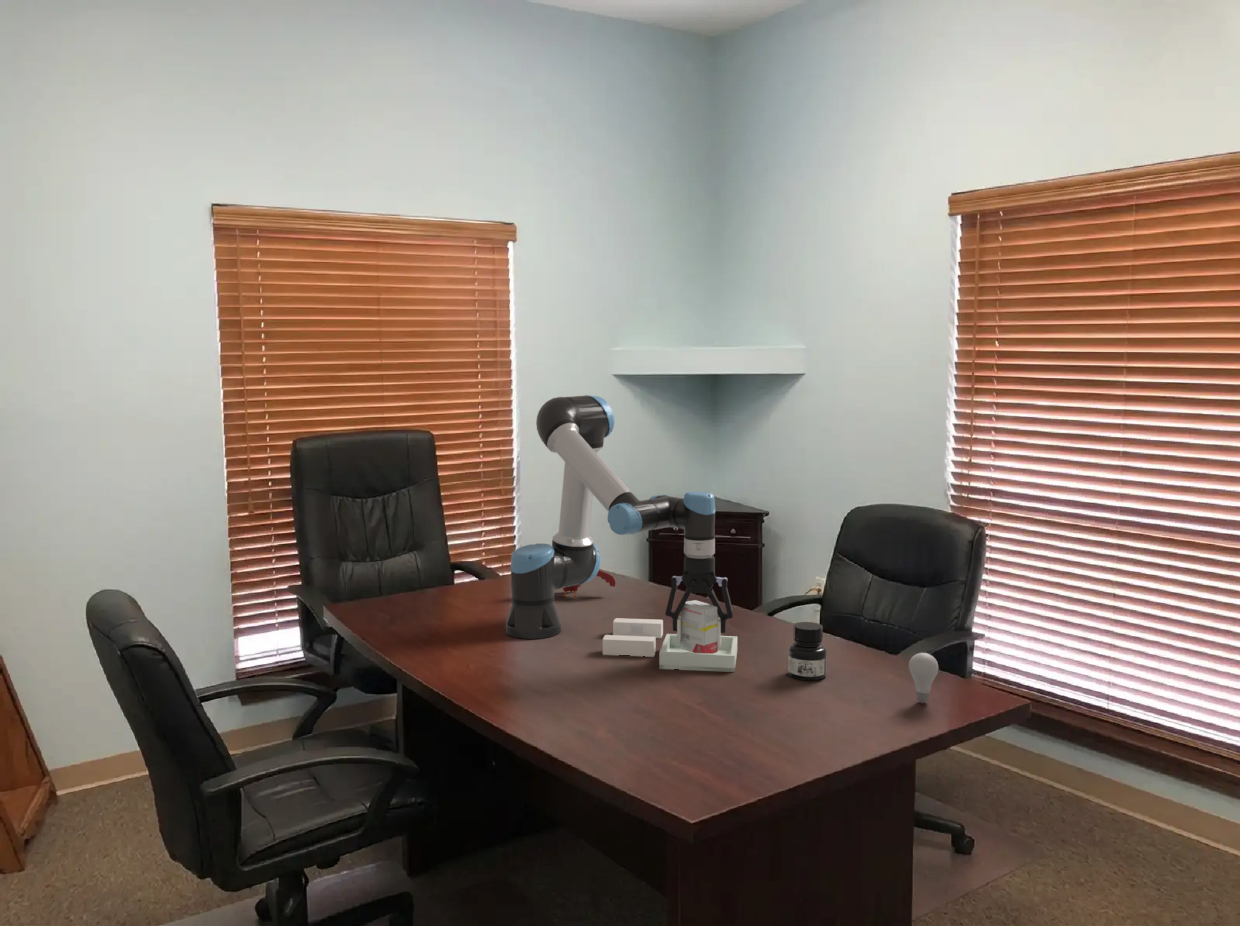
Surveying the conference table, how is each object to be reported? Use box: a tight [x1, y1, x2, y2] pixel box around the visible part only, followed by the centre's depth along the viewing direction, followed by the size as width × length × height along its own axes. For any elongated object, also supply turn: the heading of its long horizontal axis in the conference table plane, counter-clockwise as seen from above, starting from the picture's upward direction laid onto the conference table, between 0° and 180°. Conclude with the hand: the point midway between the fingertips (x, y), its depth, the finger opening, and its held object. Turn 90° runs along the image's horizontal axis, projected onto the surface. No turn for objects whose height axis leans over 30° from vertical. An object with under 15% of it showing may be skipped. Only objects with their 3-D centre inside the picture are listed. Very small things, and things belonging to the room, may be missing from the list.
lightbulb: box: [908, 652, 940, 704], centre depth 208 cm, size 6×6×11 cm
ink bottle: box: [787, 621, 828, 681], centre depth 227 cm, size 10×9×12 cm
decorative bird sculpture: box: [562, 570, 616, 598], centre depth 303 cm, size 28×9×15 cm
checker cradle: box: [602, 617, 664, 658], centre depth 253 cm, size 13×20×4 cm, turn 171°
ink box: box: [680, 599, 719, 654], centre depth 239 cm, size 9×5×12 cm, turn 39°
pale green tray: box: [658, 633, 738, 673], centre depth 239 cm, size 18×16×4 cm
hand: (699, 644), depth 239 cm, fingers closed on ink box, 9 cm apart
